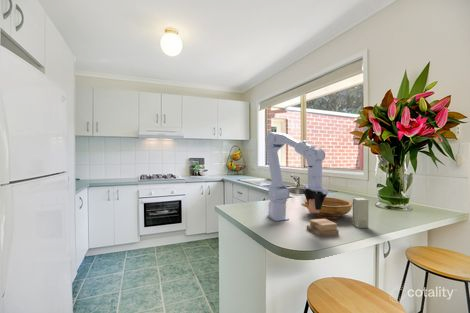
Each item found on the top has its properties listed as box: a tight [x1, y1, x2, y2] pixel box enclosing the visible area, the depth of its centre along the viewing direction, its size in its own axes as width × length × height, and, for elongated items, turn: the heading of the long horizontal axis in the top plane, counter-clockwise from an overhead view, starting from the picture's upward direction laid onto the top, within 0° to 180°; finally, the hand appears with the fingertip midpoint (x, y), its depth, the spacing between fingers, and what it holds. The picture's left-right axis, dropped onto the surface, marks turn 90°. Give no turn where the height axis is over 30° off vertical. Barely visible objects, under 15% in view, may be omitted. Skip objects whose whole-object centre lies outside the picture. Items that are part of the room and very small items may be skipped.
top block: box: [309, 218, 338, 231], centre depth 94 cm, size 8×8×2 cm
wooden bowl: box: [301, 196, 353, 220], centre depth 119 cm, size 30×24×8 cm
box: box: [352, 197, 369, 229], centre depth 102 cm, size 5×4×13 cm
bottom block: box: [306, 224, 340, 238], centre depth 94 cm, size 9×9×2 cm
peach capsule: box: [307, 199, 319, 214], centre depth 95 cm, size 4×4×5 cm
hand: (314, 208), depth 95 cm, fingers closed on peach capsule, 4 cm apart
